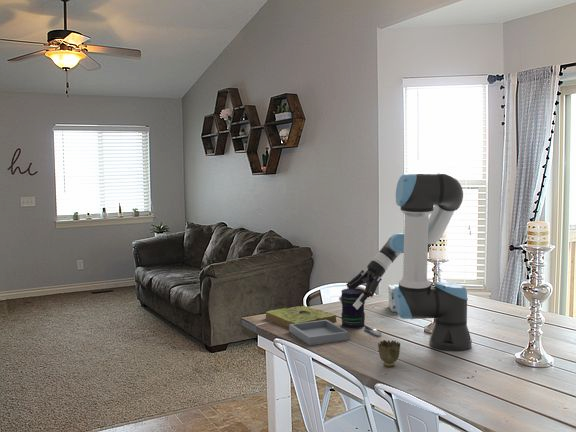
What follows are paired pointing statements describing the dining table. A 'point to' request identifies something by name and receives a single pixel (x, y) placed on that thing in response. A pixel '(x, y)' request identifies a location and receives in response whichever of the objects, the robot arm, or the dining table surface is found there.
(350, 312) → the storage jar
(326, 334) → the tray
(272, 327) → the dining table surface
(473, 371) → the dining table surface
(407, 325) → the dining table surface
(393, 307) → the light bulb box
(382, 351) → the cup
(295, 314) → the miniature landscape model
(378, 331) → the rod
